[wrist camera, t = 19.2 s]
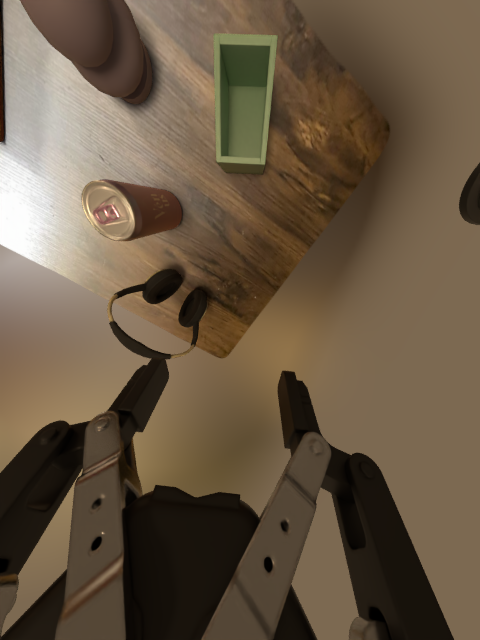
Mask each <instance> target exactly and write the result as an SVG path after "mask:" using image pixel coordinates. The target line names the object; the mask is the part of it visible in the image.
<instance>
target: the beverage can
mask: <svg viewBox="0 0 480 640" xmlns="http://www.w3.org/2000/svg"><path fill="white" fill-rule="evenodd" d="M82 206H83V210H84V212H85V215H86V217H87V218H88V220H89V222H90V223H91V224H92V226H93V227H94V228H95V229H96V230H97V231H98V232H99V233H100V234H102V235H103V236H105V237H107V238H109V239H111V240H115V241H131V240H134V239H138V238H141V237H145V236H149V235H152V234H156V233H159V232H163V231H167V230H170V229H174V228H176V227H177V226H178V225H179V223H180V221H181V218H182V210H181V206H180V204H179V202H178V200H177V198H176V197H175V196H174V195H173V194H172V193H170V192H169V191H166V190H163V189H157V188H152V187H146V186H140V185H135V184H129V183H124V182H118V181H113V180H107V179H103V180H98V181H92V182H90V183H88V184H87V185H86V186H85V188H84V189H83V192H82Z"/></svg>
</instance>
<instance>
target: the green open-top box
mask: <svg viewBox="0 0 480 640" xmlns="http://www.w3.org/2000/svg"><path fill="white" fill-rule="evenodd" d="M277 38H278V36H277V35H272V36H271V35H250V34H214V79H215V128H216V162H217V163H218V165H219V166H220V167H221V168H222V169H223V170H224V171H225V172H226V173H242V174H260V175H262V174H263V171H264V167H265V161H266V150H267V140H268V130H269V120H270V110H271V99H272V89H273V79H274V69H275V59H276V49H277Z"/></svg>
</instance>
